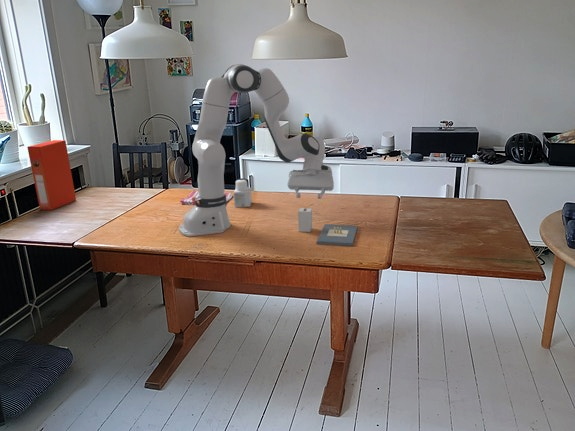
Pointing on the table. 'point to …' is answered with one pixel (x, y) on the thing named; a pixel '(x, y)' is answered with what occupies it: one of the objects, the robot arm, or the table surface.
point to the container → (242, 193)
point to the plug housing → (305, 219)
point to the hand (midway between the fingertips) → (308, 197)
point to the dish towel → (195, 194)
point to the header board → (337, 235)
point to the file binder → (52, 174)
